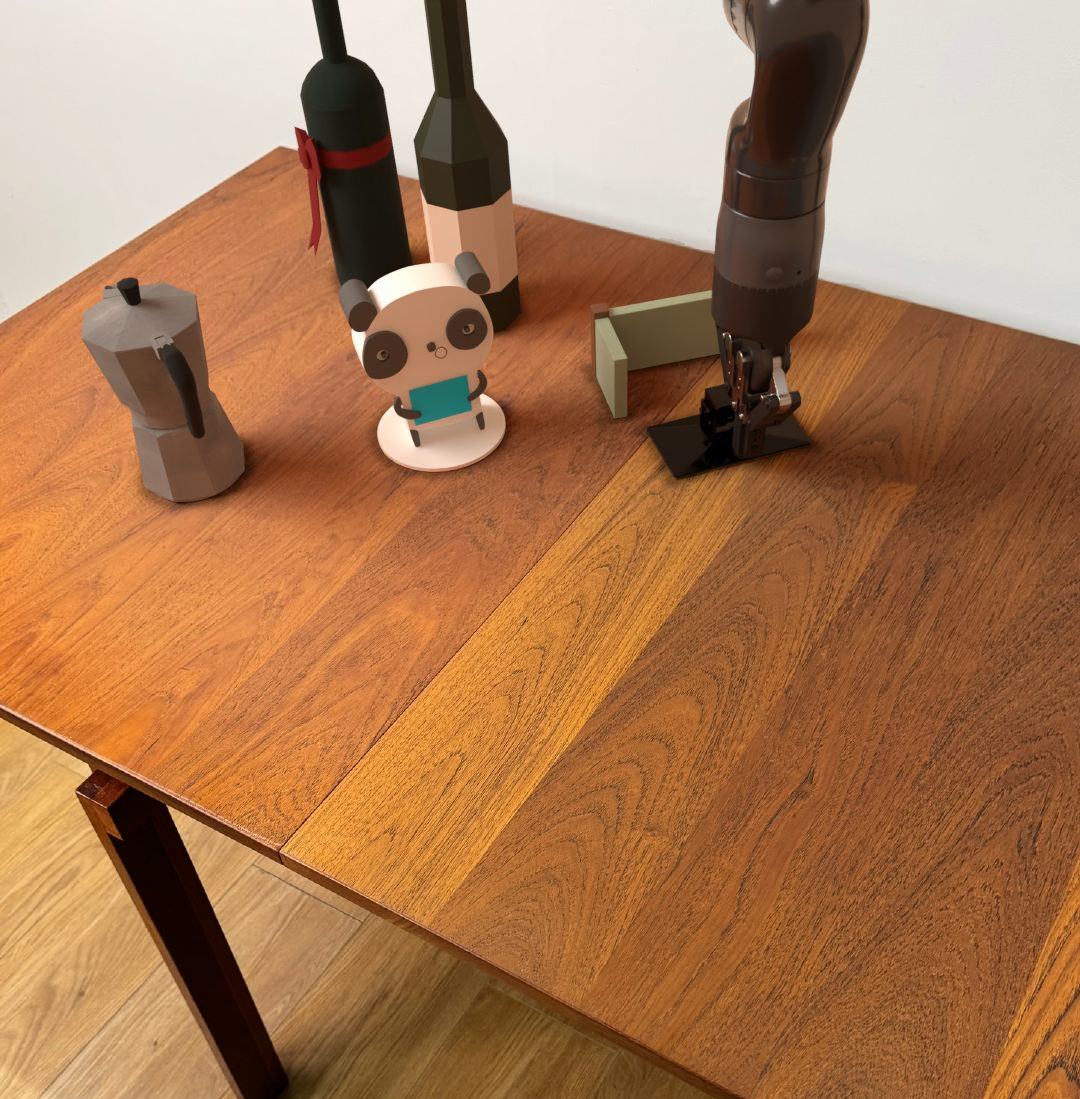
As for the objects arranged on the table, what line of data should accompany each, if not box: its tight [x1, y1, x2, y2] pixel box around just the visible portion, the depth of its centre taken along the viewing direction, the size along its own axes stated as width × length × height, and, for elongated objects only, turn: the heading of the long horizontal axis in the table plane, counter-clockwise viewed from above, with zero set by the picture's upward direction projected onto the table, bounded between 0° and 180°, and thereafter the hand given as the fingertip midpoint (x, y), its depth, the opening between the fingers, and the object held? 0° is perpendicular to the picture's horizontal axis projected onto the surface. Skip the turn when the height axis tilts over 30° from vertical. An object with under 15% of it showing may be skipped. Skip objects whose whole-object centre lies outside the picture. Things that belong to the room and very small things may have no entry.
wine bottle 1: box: [294, 0, 414, 290], centre depth 107 cm, size 8×10×30 cm
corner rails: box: [589, 289, 720, 419], centre depth 103 cm, size 18×8×7 cm, turn 103°
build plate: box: [646, 383, 812, 480], centre depth 98 cm, size 12×7×5 cm, turn 107°
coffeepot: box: [80, 276, 246, 503], centre depth 93 cm, size 15×9×18 cm, turn 33°
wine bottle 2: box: [413, 0, 522, 334], centre depth 102 cm, size 8×8×30 cm
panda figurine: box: [338, 251, 507, 473], centre depth 97 cm, size 12×11×15 cm
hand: (746, 451), depth 96 cm, fingers closed
